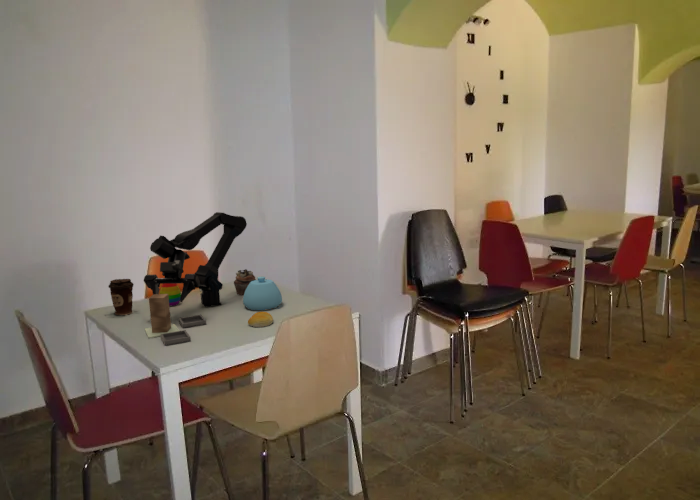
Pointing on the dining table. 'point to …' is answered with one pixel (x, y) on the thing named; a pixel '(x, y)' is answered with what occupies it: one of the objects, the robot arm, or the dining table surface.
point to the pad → (153, 335)
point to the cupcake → (243, 281)
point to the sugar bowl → (262, 295)
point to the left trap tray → (175, 337)
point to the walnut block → (160, 313)
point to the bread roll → (260, 319)
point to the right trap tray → (192, 321)
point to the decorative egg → (171, 293)
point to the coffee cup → (121, 296)
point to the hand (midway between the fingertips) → (168, 301)
